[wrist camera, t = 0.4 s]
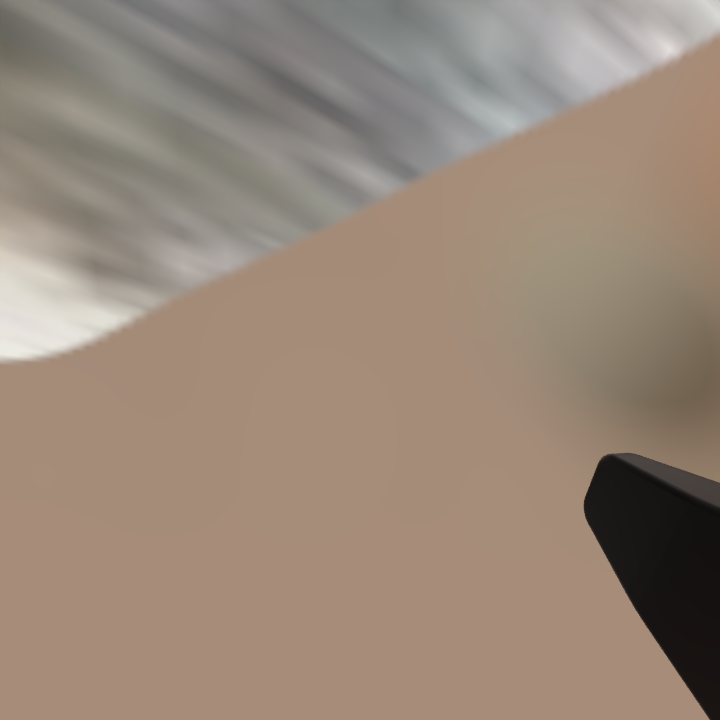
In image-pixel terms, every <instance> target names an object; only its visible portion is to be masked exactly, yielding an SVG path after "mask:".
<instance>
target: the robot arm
mask: <svg viewBox="0 0 720 720" xmlns="http://www.w3.org/2000/svg"><path fill="white" fill-rule="evenodd" d="M584 513H585V517H586V520H587V522H588V524H589V526H590V528H591V530H592V531H593V533H594V535H595V537H596V539H597V541H598V542H599V544H600V546H601V548H602V550H603V552H604V553H605V555H606V557H607V559H608V561H609V562H610V564H611V566H612V568H613V570H614V572H615V574H616V575H617V577H618V579H619V581H620V583H621V585H622V586H623V588H624V590H625V592H626V594H627V595H628V597H629V599H630V601H631V602H632V604H633V606H634V608H635V609H636V611H637V612H638V614H639V616H640V617H641V619H642V620H643V622H644V623H645V625H646V626H647V628H648V629H649V631H650V632H651V633H652V635H653V637H654V638H655V640H656V641H657V643H658V644H659V645H660V647H661V649H662V650H663V652H664V653H665V654H666V656H667V657H668V659H669V660H670V662H671V663H672V665H673V666H674V668H675V669H676V671H677V672H678V674H679V675H680V677H681V678H682V680H683V681H684V682H685V684H686V685H687V687H688V688H689V690H690V691H691V693H692V694H693V696H694V697H695V699H696V700H697V701H698V703H699V705H700V706H701V708H702V709H703V710H704V712H705V713H706V715H707V716H708V718H709V719H710V720H720V483H718V482H716V481H713V480H710V479H707V478H704V477H701V476H698V475H695V474H693V473H690V472H687V471H684V470H681V469H678V468H675V467H672V466H669V465H666V464H663V463H660V462H658V461H655V460H652V459H649V458H646V457H643V456H640V455H637V454H632V453H618V454H607V455H606V456H603V457H602V458H601V460H600V461H599V463H598V465H597V468H596V470H595V473H594V476H593V478H592V481H591V483H590V486H589V488H588V491H587V494H586V496H585V500H584Z"/></svg>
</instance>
